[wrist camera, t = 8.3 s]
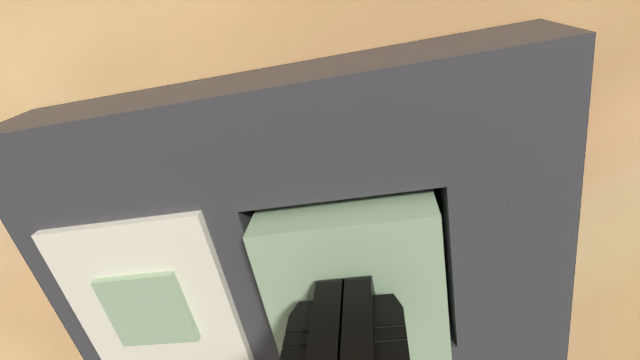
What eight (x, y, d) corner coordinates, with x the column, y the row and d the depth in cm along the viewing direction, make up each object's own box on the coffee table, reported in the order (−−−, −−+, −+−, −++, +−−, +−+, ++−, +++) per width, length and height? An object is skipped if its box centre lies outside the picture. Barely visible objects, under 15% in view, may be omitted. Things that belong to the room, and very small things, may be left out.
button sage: (422, 158, 13) (441, 216, 10) (433, 283, 15) (451, 363, 12) (269, 178, 14) (242, 238, 11) (300, 295, 16) (285, 372, 13)
